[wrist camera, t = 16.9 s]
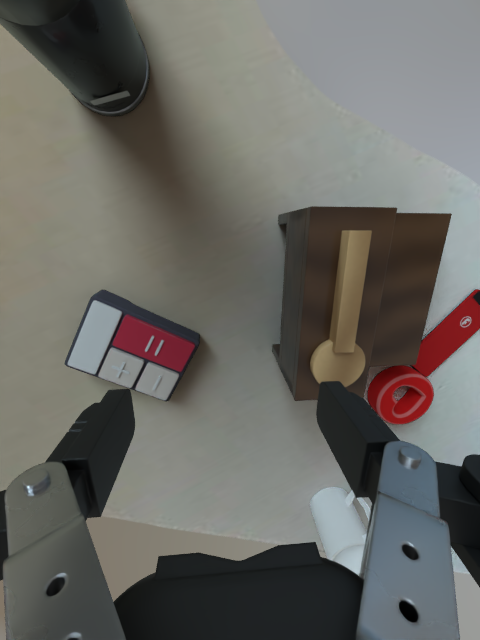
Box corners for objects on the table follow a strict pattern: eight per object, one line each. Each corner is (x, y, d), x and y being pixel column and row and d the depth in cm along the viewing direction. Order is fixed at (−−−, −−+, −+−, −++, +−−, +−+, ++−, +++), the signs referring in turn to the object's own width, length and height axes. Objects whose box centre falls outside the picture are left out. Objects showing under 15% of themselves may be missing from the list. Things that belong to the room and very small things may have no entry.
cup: (367, 478, 53) (400, 533, 43) (336, 520, 56) (361, 580, 46) (332, 468, 51) (358, 522, 41) (302, 511, 54) (320, 571, 45)
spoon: (307, 385, 29) (312, 393, 28) (322, 230, 24) (329, 230, 23) (356, 383, 30) (364, 391, 28) (381, 230, 25) (392, 230, 23)
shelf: (278, 214, 36) (311, 206, 23) (416, 216, 37) (514, 209, 25) (271, 351, 42) (294, 401, 30) (389, 347, 44) (458, 393, 31)
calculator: (167, 406, 39) (60, 368, 35) (170, 389, 43) (74, 353, 39) (200, 344, 37) (89, 296, 33) (200, 332, 41) (101, 288, 37)
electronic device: (423, 376, 46) (495, 310, 43) (426, 378, 45) (499, 311, 42) (403, 358, 44) (476, 288, 41) (405, 359, 44) (479, 288, 41)
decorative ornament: (428, 394, 47) (442, 405, 44) (380, 422, 48) (391, 435, 45) (409, 355, 44) (423, 363, 41) (358, 385, 45) (368, 396, 42)
